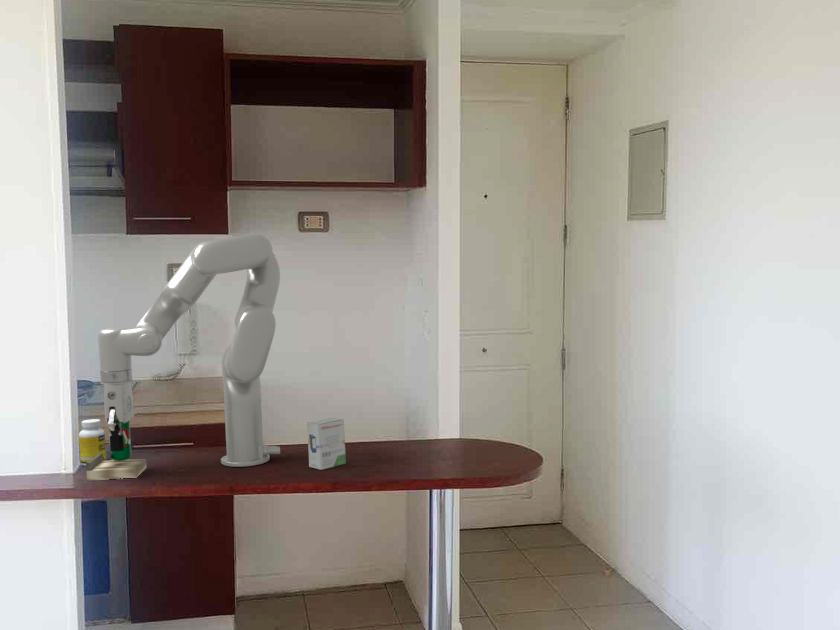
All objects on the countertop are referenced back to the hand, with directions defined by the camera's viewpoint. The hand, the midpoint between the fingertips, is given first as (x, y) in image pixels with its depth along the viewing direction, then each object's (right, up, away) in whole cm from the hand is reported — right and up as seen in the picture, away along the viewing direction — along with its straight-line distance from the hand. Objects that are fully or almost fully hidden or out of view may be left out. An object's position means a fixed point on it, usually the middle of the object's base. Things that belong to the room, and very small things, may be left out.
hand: (120, 447), depth 222 cm
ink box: (+52, -5, +3) cm, 52 cm away
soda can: (0, -3, 0) cm, 3 cm away
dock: (-1, -7, 0) cm, 7 cm away
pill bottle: (-12, -6, +13) cm, 19 cm away
